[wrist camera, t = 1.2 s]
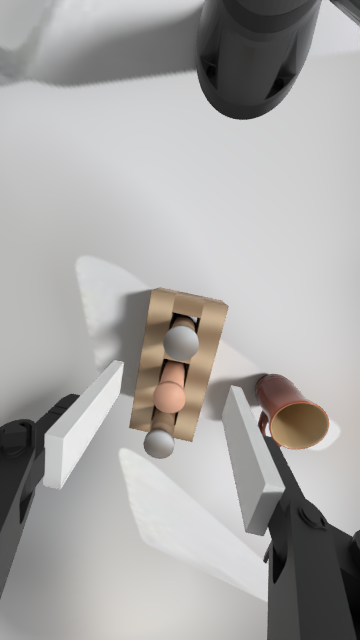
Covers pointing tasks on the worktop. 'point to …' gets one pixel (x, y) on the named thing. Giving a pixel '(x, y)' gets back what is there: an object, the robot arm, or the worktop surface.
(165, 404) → the plug mid
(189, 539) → the worktop surface
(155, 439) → the plug far
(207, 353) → the socket board
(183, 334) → the plug near
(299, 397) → the mug
